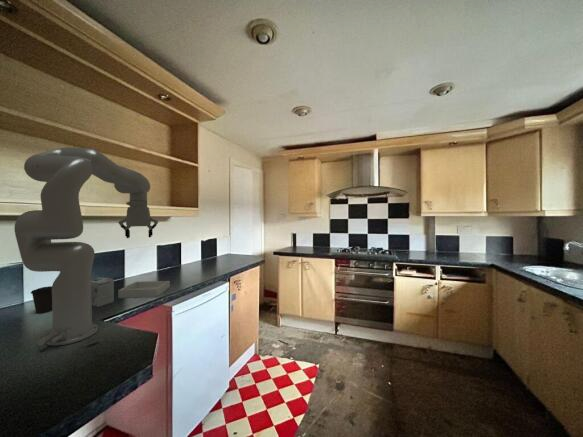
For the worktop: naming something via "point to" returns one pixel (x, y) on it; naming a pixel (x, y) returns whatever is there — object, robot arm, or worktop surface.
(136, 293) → the grey tray
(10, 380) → the worktop surface
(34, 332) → the worktop surface
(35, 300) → the coffee cup
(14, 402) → the worktop surface
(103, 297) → the light bulb box
